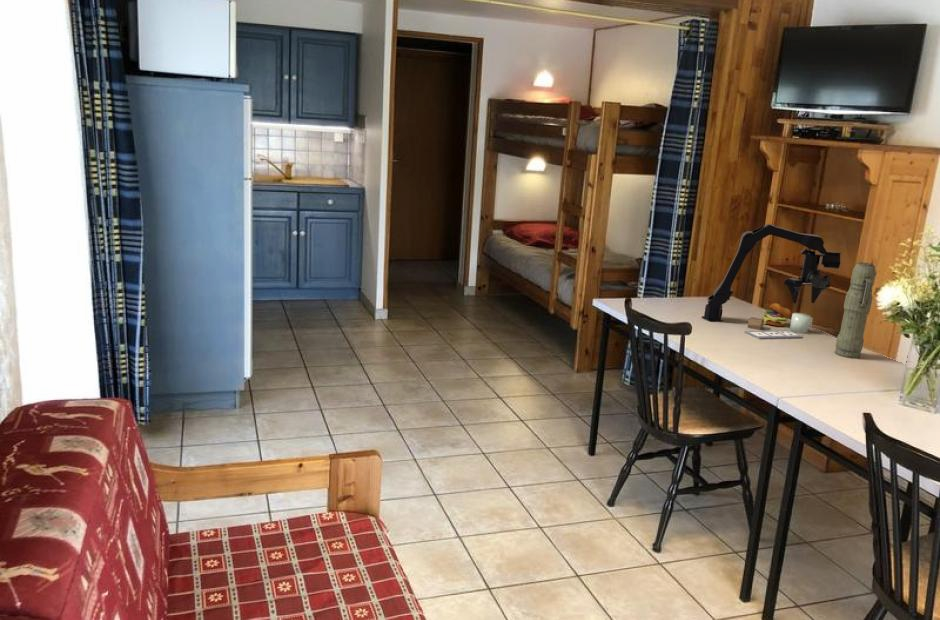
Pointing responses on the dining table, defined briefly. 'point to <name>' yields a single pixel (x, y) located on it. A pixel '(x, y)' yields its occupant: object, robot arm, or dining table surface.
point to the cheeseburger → (776, 315)
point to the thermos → (856, 311)
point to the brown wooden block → (755, 323)
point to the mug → (800, 323)
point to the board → (773, 334)
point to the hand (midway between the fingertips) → (803, 303)
